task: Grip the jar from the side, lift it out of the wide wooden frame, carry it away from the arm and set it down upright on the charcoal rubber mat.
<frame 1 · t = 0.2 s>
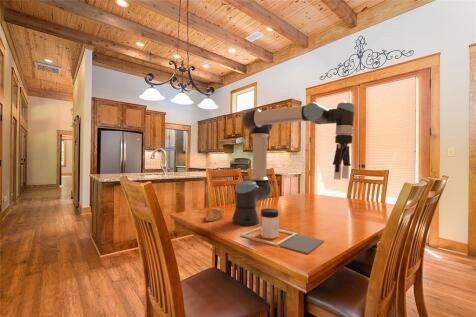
hand: (341, 179, 110), 27 cm above the table, tool pointing down, fingers open, 13 cm apart
croissant: (214, 218, 139), on the table
mat: (302, 244, 97), on the table
jar: (269, 236, 108), resting in frame
frame: (269, 235, 108), on the table
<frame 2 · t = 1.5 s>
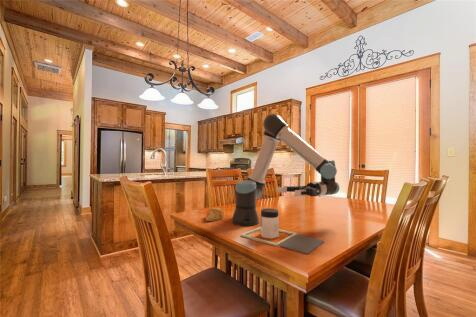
hand: (285, 191, 113), 20 cm above the table, tool horizontal, fingers open, 13 cm apart
nothing on the table moved.
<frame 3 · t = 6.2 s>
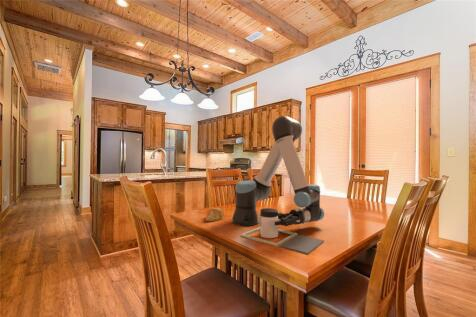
hand: (263, 221, 106), 7 cm above the table, tool horizontal, fingers open, 7 cm apart
jar: (268, 235, 108), resting in frame, touching gripper
everything else where it was.
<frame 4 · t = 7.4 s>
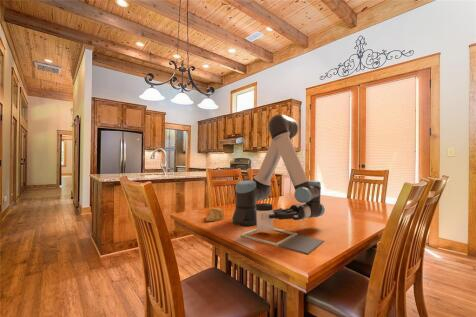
hand: (262, 216, 105), 9 cm above the table, tool horizontal, fingers closed on jar
jar: (264, 229, 110), point 2 cm above the table, touching gripper
everything else where it was.
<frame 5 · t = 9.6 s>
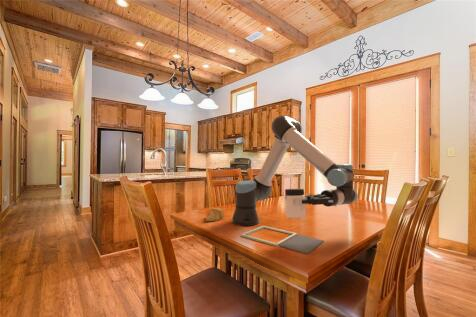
hand: (294, 202, 96), 18 cm above the table, tool horizontal, fingers closed on jar
jar: (295, 217, 100), point 11 cm above the table, touching gripper
everything else where it was.
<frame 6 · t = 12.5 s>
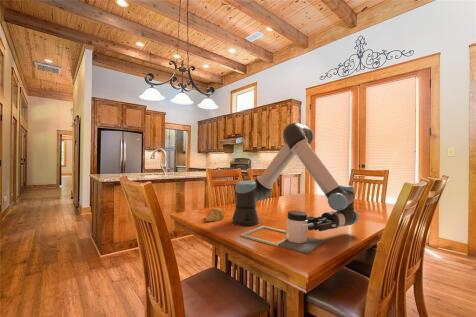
hand: (295, 226, 95), 8 cm above the table, tool horizontal, fingers open, 6 cm apart
jar: (296, 240, 101), resting on mat, touching frame, gripper
everything else where it was.
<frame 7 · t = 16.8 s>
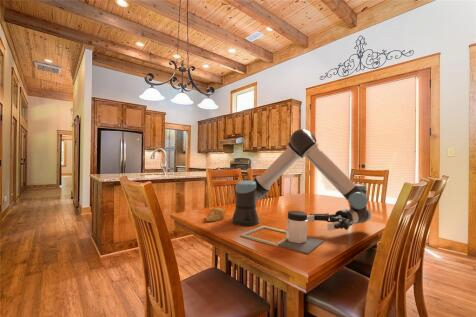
hand: (315, 223, 101), 8 cm above the table, tool horizontal, fingers open, 13 cm apart
jar: (296, 240, 101), resting on mat, touching frame
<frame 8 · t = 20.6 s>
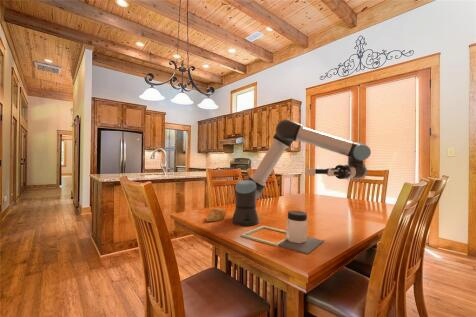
hand: (316, 172, 110), 30 cm above the table, tool horizontal, fingers open, 13 cm apart
at the end: jar inside the target area (3.8 cm from its centre), point 0.5 cm above the table; jar tilted 2°; the gripper is holding nothing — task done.
